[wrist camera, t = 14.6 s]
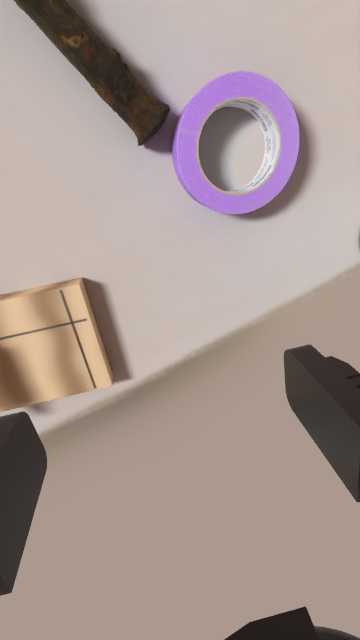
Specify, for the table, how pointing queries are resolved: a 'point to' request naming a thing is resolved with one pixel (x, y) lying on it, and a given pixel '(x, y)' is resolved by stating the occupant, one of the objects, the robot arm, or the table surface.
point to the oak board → (49, 345)
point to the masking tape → (277, 128)
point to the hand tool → (98, 66)
